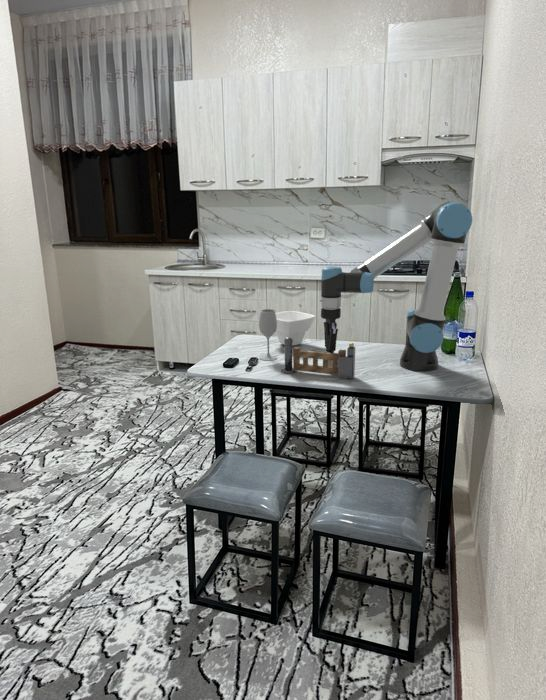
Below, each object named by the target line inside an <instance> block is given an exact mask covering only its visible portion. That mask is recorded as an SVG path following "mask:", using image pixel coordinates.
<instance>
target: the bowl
mask: <svg viewBox="0 0 546 700" xmlns="http://www.w3.org/2000/svg"><path fill="white" fill-rule="evenodd" d="M275 314H276V320H277V329H276V332H275V333H276V335H277V339H278V342H279V344H281V345H284V346H285V343H284V340H285V338H287V337H290V338H292V340H293V343H292V347H293V346H298V345H301V344H302V343H303V340H304V337H305V335H306V332H308V331H309V329H310V328H311V326H312V325H313V323H314V321H315V319H316V318H317V316H316V315H314V314H311V313H306V312H303V311H302V312H301V311H298V310H297V311H296V310H286V311H278V312H275Z"/></svg>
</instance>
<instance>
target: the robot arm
mask: <svg viewBox="0 0 546 700" xmlns="http://www.w3.org/2000/svg"><path fill="white" fill-rule="evenodd" d="M472 224H473V214H472V212H471V210H470V209H469V207H468V206H467V205H466V204H464V203H462V202H458V201H447V202H444V203H441V204H439V205H438V206H437V207H436V208H435V209H434V210H432V212H430V213H429V214H428V215H426V216H425V217H424V218H422V219H421V220H420V223H419V224H418V225H417V226H415V227H413V229H411V230H409V231H407V232H406V233H405V234H404V235H402V236H401V237H399V238H398V239H397V240H395V241H394V242H392V243H390V244H389V245H388V246H386V247H384V248H383V249H382V250H380V251H379V252H377V253H376V254H374V255H373V256H372V257H370V258H369V259H367V260H366V261H363V263H361V264H360V265H358V266H356V267H354V268H352V269H351V271H350V272H346V271H345V272H344V271H343V269H342V267H341V266H333V265H332V266H330V265H329V266H325V267H323V268H322V269H321V281H320V282H321V283H320V284H321V285H320V286H321V289H320V290H321V291H320V294H321V296H320V298H321V299H319V302H320V304H321V305H320V306H321V308H320V317H321V318H322V319H323V320H325V321H323V327H324V328H323V331H324V347H325V352H327V353H335V351H336V350H337V349H336V346H337V339H338V331H339V329H338V328H337V326H338V324H337V322H336V320H338V319H340V318H341V307H342V293H345V294H346V293H350V294H351V293H354V294H355V293H356V294H358V293H359V294H370V293H373V292H374V283H375V282H374V279H376V278H377V277H379V276H381V274H383V273H385V272H386V271H388V270H389V269H391V268H392V267H394V266H396V264H398V263H400V262H401V261H403V260H404V259H405V258H407V257H409V256H410V255H412V254H414V253H415V252H416V251H418V250H420V249H421V248H422V247H424V246H425V245H427V244H428V243H430V242H432V243H433V247H432V249H431V250H432V251H431V256H430V260H429V264H428V268H427V272H426V273H427V274H426V277H425V282H424V287H423V290H422V294H421V299H420V302H419V303H420V304H419V308H418V309H410V310H407V313H406V330H405V344H404V349H403V351H402V353H401V356H400V357H399V358H400V359H399V366H401V367H402V368H404V369H406V370H410V371H416V372H417V371H418V372H420V371H421V372H427V371H429V372H430V371H434V370H436V369H438V368H439V358H438V355H437V350H438V349H439V348H440V347H442V344H443V343H444V342H443V341H444V336H445V335H444V332H443V331H444V328H445V323H446V321H447V320H446V319H447V318H446V316H445V314H444V309H445V305H446V303H447V297H448V294H449V290H450V285H451V281H452V276H453V272H454V268H455V263H456V260H457V255H458V252H459V248H461V247H462V246H463V245H465V241H466V237H467V234H468V233H469V231H470V229H471V227H472ZM328 366H329V367H333V360H328Z"/></svg>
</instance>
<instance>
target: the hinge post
mask: <svg viewBox="0 0 546 700" xmlns="http://www.w3.org/2000/svg"><path fill="white" fill-rule="evenodd" d="M284 343H285V345H284V367H283V368H281V369H280V371H281V373H282V374H290V375H292V374H295V373H297V371H296V370H293V346H292V343H293V340H292V338H290V337H287V338H285V340H284Z"/></svg>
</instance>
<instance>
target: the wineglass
mask: <svg viewBox="0 0 546 700" xmlns="http://www.w3.org/2000/svg"><path fill="white" fill-rule="evenodd" d="M259 312H260V313H259V319H258V329H259V331H260V333H261V334H262V335H263V336H264V337H265V338H266V341H267V344H266V345H267V349H266V350H267V354H266V355H262V356H260V357H259V358H260V360H261V361H265V362H266V361H267V362H270V361H271V362H272V361H276V360H277V358H278V357H277V356H275V355H271V354H270V339H271V337H272V336H273V335H274V334H275V333H276V329H277V320H276V314H275V313H276V310H275V309H271V308H269V309H268V308H267V309H261V310H260V311H259Z"/></svg>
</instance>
